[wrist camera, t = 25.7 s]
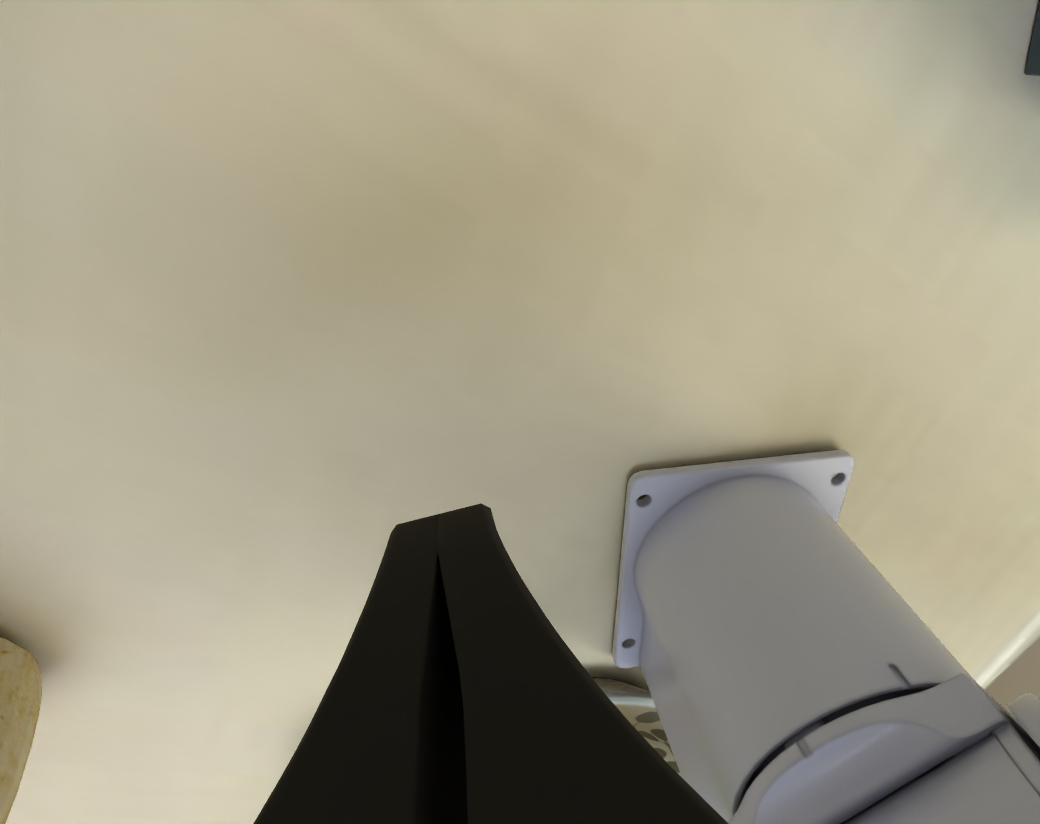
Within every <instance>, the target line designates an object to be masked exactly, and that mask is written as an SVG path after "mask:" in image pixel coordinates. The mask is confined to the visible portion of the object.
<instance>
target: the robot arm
mask: <svg viewBox="0 0 1040 824" xmlns="http://www.w3.org/2000/svg"><path fill="white" fill-rule="evenodd" d="M854 462H855V460H854V458H853V457H852V456H851V455H850V454H849V453H848V452H847V451H845V450H832V451H822V452H813V453H803V454H794V455H784V456H775V457H766V458H756V459H747V460H737V461H728V462H719V463H709V464H700V465H690V466H681V467H672V468H662V469H653V470H643V471H640V472H637V473H635V474H634V475H632V476H631V478H630V479H629V481H628V484H627V495H626V506H625V518H624V529H623V540H622V551H621V563H620V574H619V585H618V596H617V608H616V619H615V630H614V641H613V653H612V656H613V660H614V663H615V665H616V666H617V667H620V668H630V667H637V666H640V667H641V669H642V672H643V675H644V677H645V680H646V683H647V685H648V688H649V691H650V693H651V696H652V699H653V701H654V704H655V707H656V709H657V712H658V715H659V717H660V720H661V723H662V725H663V728H664V731H665V733H666V736H667V739H668V741H669V744H670V747H671V749H672V752H673V755H674V757H675V760H676V763H677V765H678V768H679V771H680V773H681V776H682V777H681V776H680V775H679V774H678V773H677V772H676V771H675V770H674V769H673V768H672V767H671V766H670V765H669V764H668V763H667V762H666V761H665V760H664V759H663V758H662V757H661V756H660V755H659V753H658V752H657V751H656V750H655V749H654V748H653V747H652V746H651V745H650V744H649V743H648V741H647V740H646V739H645V738H644V737H643V736H642V735H641V734H640V733H639V732H638V731H637V730H636V728H635V727H634V726H633V725H632V724H631V723H630V722H629V721H628V720H627V718H626V717H625V716H624V715H623V714H622V713H621V711H620V710H619V709H618V708H617V707H616V706H615V705H614V703H613V702H612V701H611V700H610V699H609V698H608V697H607V695H606V694H605V693H604V692H603V691H602V689H601V688H600V687H599V686H598V685H597V683H596V682H595V681H594V680H593V678H592V677H591V676H590V675H589V673H588V672H587V671H586V670H585V668H584V667H583V666H582V665H581V663H580V662H579V661H578V659H577V658H576V657H575V655H574V654H573V653H572V651H571V650H570V649H569V648H568V646H567V645H566V644H565V642H564V641H563V640H562V638H561V637H560V636H559V634H558V633H557V631H556V630H555V629H554V627H553V626H552V624H551V623H550V621H549V620H548V619H547V617H546V616H545V614H544V613H543V611H542V610H541V608H540V607H539V605H538V604H537V602H536V600H535V599H534V597H533V596H532V594H531V593H530V591H529V590H528V588H527V587H526V585H525V583H524V582H523V580H522V579H521V577H520V575H519V573H518V572H517V570H516V568H515V567H514V565H513V563H512V561H511V559H510V557H509V555H508V553H507V551H506V550H505V548H504V545H503V543H502V541H501V539H500V537H499V534H498V532H497V530H496V526H495V523H494V519H493V516H492V512H491V508H489V507H487V506H485V505H483V504H477V505H473V506H469V507H465V508H461V509H457V510H453V511H449V512H445V513H441V514H437V515H433V516H429V517H425V518H421V519H417V520H413V521H409V522H406V523H402V524H398V525H396V526H395V528H394V529H393V531H392V532H391V535H390V538H389V541H388V544H387V547H386V550H385V553H384V556H383V559H382V562H381V564H380V567H379V570H378V573H377V575H376V578H375V581H374V583H373V586H372V588H371V591H370V593H369V596H368V599H367V601H366V604H365V606H364V609H363V611H362V613H361V616H360V618H359V620H358V623H357V625H356V627H355V630H354V632H353V634H352V637H351V639H350V641H349V644H348V646H347V648H346V651H345V653H344V655H343V657H342V659H341V662H340V664H339V666H338V668H337V670H336V672H335V674H334V676H333V678H332V680H331V682H330V684H329V686H328V688H327V690H326V692H325V695H324V697H323V699H322V701H321V703H320V705H319V707H318V709H317V711H316V713H315V715H314V717H313V719H312V721H311V723H310V725H309V727H308V729H307V731H306V733H305V734H304V736H303V738H302V740H301V742H300V744H299V746H298V747H297V749H296V751H295V753H294V755H293V757H292V758H291V760H290V762H289V764H288V766H287V767H286V769H285V771H284V773H283V774H282V776H281V778H280V780H279V781H278V783H277V785H276V786H275V788H274V790H273V792H272V793H271V795H270V797H269V798H268V800H267V802H266V804H265V805H264V807H263V809H262V810H261V812H260V814H259V815H258V817H257V819H256V820H255V822H254V824H1040V698H1039V697H1037V696H1036V695H1034V694H1029V693H1027V694H1024V695H1022V696H1020V697H1019V698H1017V699H1015V700H1014V701H1012V702H1010V703H1009V704H1007V705H1008V707H1009V709H1010V711H1011V712H1012V714H1013V715H1014V716H1015V718H1014V717H1013V716H1012V715H1011V714H1010V713H1009V712H1008V711H1007V710H1006V709H1004V708H1003V707H1002V706H1001V705H1000V704H999V703H998V702H997V701H996V700H995V699H994V698H993V697H991V696H990V695H989V694H988V693H987V692H986V691H985V690H984V689H983V688H982V687H980V686H979V685H978V684H977V683H976V682H975V680H974V679H973V678H972V677H971V676H970V675H969V674H968V672H967V671H966V670H965V669H964V668H963V667H962V666H961V664H960V663H959V662H958V661H957V660H956V659H955V658H954V656H953V655H952V654H951V653H950V652H949V651H948V650H947V648H946V647H945V646H944V645H943V644H942V643H941V642H940V640H939V639H938V638H937V637H936V636H935V635H934V634H933V632H932V631H931V630H930V629H929V628H928V627H927V626H926V625H925V623H924V622H923V621H922V620H921V619H920V618H919V617H918V615H917V614H916V613H915V612H914V611H913V610H912V609H911V607H910V606H909V605H908V604H907V603H906V602H905V601H904V599H903V598H902V597H901V596H900V595H899V594H898V593H897V591H896V590H895V589H894V588H893V587H892V586H891V585H890V583H889V582H888V581H887V580H886V579H885V578H884V577H883V575H882V574H881V573H880V572H879V571H878V570H877V569H876V567H875V566H874V565H873V564H872V563H871V562H870V561H869V559H868V558H867V557H866V556H865V555H864V554H863V553H862V552H861V550H860V549H859V548H858V547H857V546H856V545H855V544H854V542H853V541H852V540H851V539H850V538H849V537H848V536H847V534H846V533H845V532H844V531H843V530H842V529H841V528H840V526H839V525H838V524H837V520H838V517H839V514H840V510H841V507H842V504H843V501H844V497H845V494H846V491H847V487H848V484H849V481H850V478H851V474H852V471H853V468H854ZM836 474H837V475H836ZM834 475H836V476H835V477H833V476H834ZM832 477H833V478H832ZM642 495H647V496H646V497H645V498H644V499H641V500H637V499H638V498H639V497H640V496H642Z"/></svg>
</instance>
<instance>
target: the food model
mask: <svg viewBox="0 0 1040 824" xmlns="http://www.w3.org/2000/svg"><path fill="white" fill-rule="evenodd" d="M41 697H42V686H41V677H40V672H39V667H38V663H37V661H36V660H35V659H34V658H33V657H32V655H31V654H30V653H29V652H28V651H26V650H25V649H23V648H21V647H19V646H17V645H16V644H14V643H12V642H10V641H8V640H6V639H4V638H1V637H0V824H5V823H6V820H7V818H8V815H9V812H10V810H11V807H12V805H13V802H14V800H15V797H16V794H17V791H18V788H19V785H20V782H21V778H22V775H23V772H24V769H25V765H26V762H27V759H28V756H29V752H30V749H31V746H32V741H33V737H34V733H35V729H36V725H37V720H38V716H39V711H40V704H41Z"/></svg>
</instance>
